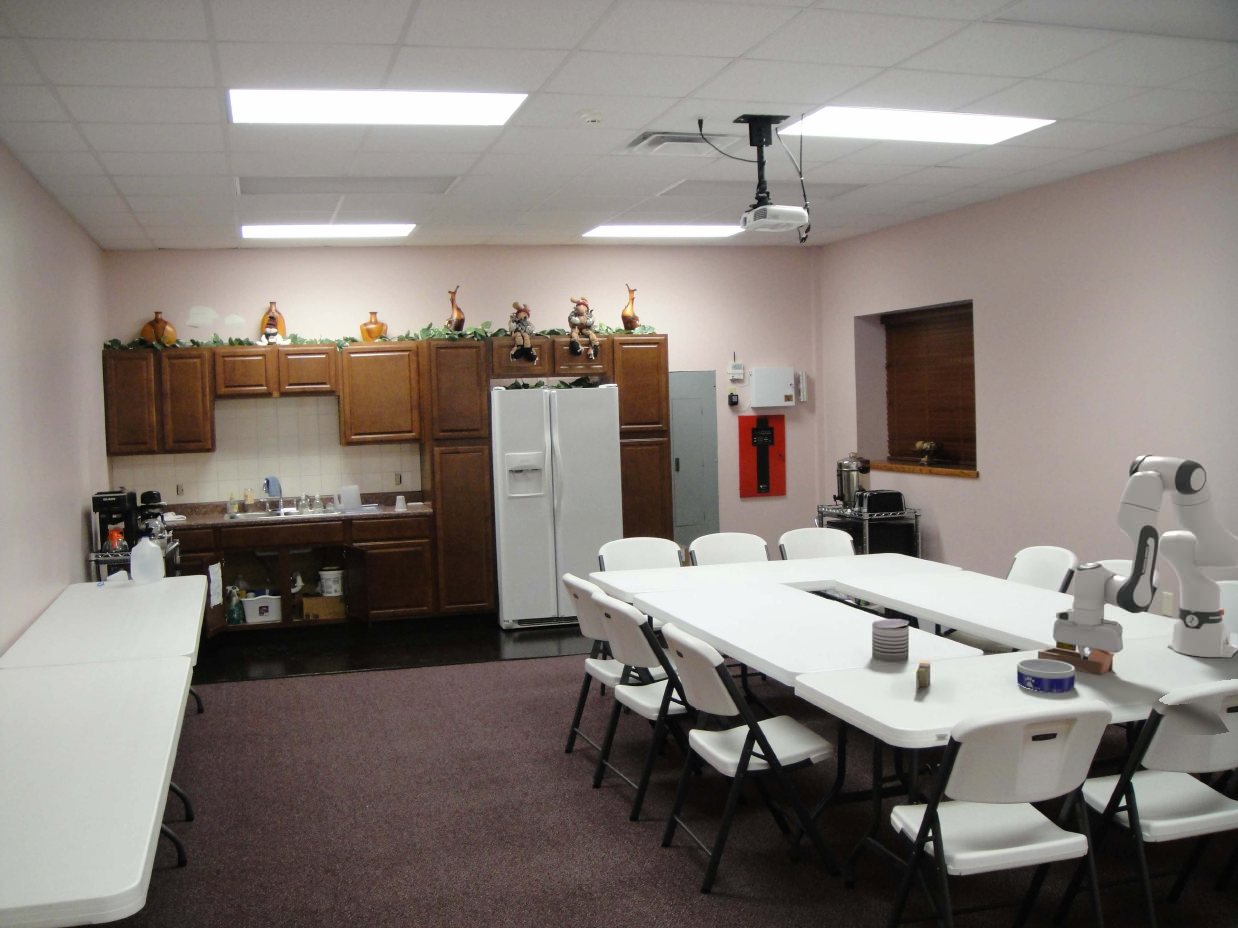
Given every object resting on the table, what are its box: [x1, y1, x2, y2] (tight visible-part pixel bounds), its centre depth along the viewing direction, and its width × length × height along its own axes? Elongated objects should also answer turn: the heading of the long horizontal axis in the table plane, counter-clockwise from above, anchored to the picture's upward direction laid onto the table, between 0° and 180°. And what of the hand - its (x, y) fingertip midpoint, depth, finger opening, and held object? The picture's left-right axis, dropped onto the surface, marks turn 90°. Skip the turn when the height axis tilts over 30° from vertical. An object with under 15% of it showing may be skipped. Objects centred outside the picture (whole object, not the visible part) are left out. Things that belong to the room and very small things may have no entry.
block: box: [1089, 649, 1115, 674], centre depth 299 cm, size 4×4×6 cm
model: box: [915, 659, 931, 694], centre depth 283 cm, size 3×11×8 cm, turn 159°
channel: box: [1037, 646, 1114, 676], centre depth 305 cm, size 8×19×4 cm, turn 38°
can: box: [871, 618, 910, 664], centre depth 316 cm, size 11×11×12 cm
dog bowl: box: [1016, 658, 1076, 694], centre depth 285 cm, size 15×15×6 cm
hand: (1086, 661), depth 302 cm, fingers closed
